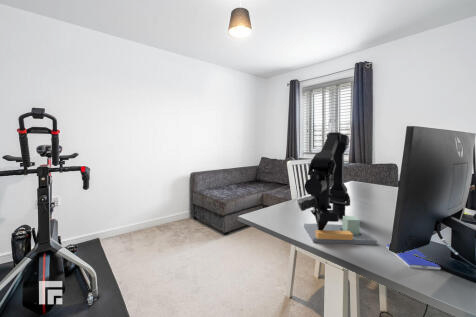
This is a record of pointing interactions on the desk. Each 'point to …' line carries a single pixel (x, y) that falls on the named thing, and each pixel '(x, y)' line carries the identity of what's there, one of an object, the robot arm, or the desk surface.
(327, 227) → the socket plate
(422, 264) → the hard drive
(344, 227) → the pale green block
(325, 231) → the bar
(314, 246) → the desk surface
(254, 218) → the desk surface
